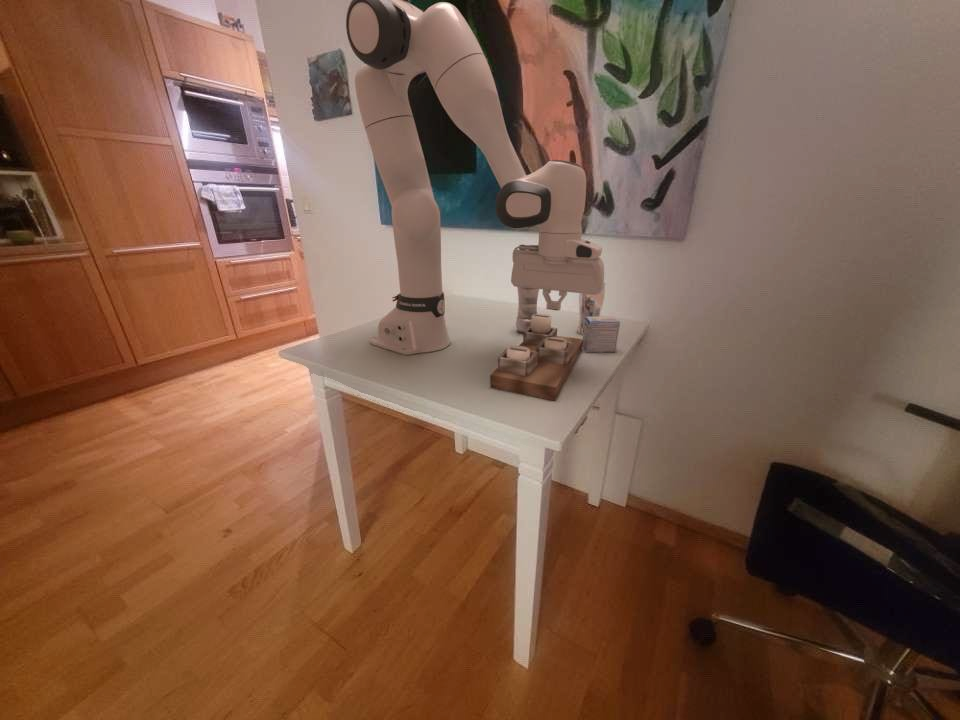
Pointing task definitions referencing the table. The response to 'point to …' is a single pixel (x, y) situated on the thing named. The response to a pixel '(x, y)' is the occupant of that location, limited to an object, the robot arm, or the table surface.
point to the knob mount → (537, 367)
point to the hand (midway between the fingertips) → (553, 309)
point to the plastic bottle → (526, 307)
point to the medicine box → (600, 334)
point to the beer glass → (589, 307)
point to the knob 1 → (518, 353)
